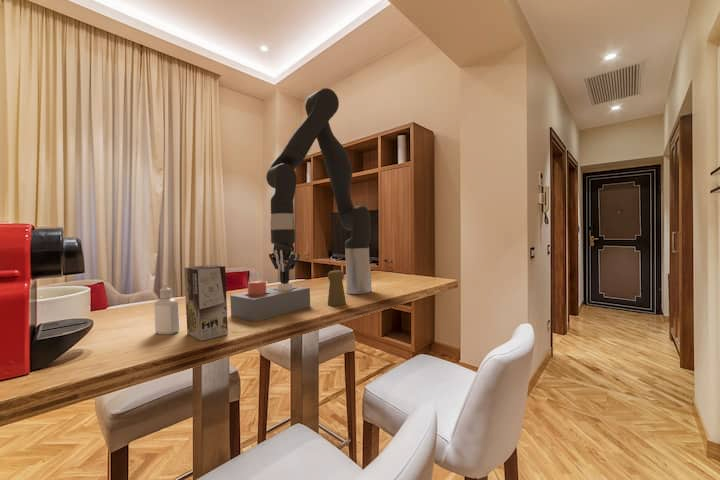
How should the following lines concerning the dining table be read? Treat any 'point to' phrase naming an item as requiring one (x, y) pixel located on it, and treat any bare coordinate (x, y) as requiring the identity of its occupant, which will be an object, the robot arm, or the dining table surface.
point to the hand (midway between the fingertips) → (284, 283)
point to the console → (269, 303)
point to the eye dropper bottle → (166, 313)
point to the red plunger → (256, 288)
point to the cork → (336, 288)
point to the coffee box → (206, 301)
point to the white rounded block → (284, 286)
